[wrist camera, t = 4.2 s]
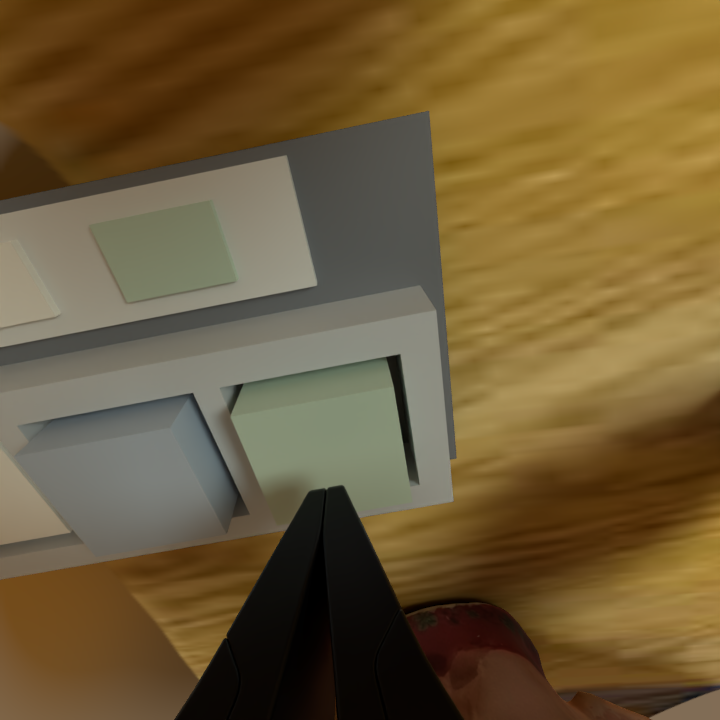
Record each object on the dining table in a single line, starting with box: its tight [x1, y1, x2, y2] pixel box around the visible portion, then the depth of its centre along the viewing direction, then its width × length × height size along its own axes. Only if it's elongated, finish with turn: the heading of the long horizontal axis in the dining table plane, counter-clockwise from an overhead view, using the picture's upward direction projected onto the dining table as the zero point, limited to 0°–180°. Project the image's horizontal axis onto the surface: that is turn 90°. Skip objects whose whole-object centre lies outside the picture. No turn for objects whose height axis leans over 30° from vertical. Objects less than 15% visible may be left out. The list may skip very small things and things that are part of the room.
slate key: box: [14, 393, 239, 557], centre depth 11 cm, size 4×4×2 cm
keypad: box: [0, 111, 456, 580], centre depth 11 cm, size 19×11×3 cm, turn 100°
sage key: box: [230, 357, 412, 526], centre depth 11 cm, size 4×4×2 cm
